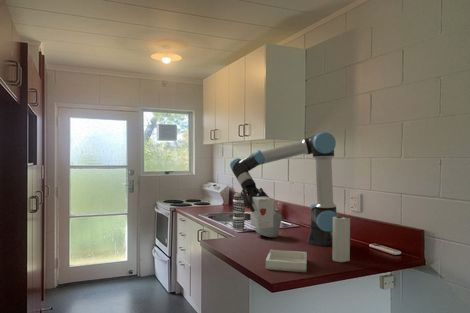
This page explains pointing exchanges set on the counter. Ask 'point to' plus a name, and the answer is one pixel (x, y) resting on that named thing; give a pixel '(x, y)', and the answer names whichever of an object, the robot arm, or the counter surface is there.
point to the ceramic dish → (286, 260)
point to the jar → (271, 230)
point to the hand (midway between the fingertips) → (265, 215)
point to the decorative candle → (238, 212)
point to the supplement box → (263, 212)
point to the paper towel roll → (341, 239)
